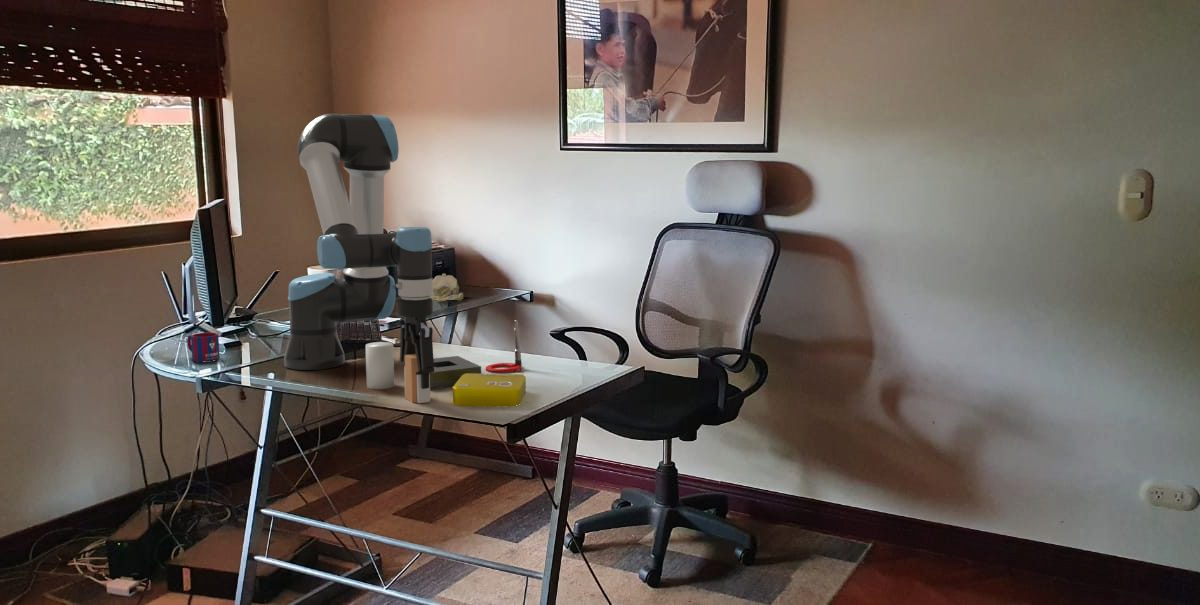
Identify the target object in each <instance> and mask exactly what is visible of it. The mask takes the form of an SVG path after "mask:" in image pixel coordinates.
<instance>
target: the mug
mask: <svg viewBox="0 0 1200 605" xmlns="http://www.w3.org/2000/svg"><path fill="white" fill-rule="evenodd" d="M219 340H220V338H219V333H217V332H209V331H207V332H197V333H193V334H189V335H188V336H187V341H186V342H187V347H188V350H189V351H190V352H191V359H192V360H193V361H199V362H198V363H204V362H203V361H213V360H217V361H219V360H220V359H219V358H221V357H220V356H221V355H220V341H219ZM218 359H219V360H218ZM192 360H191V361H192ZM193 361H192V362H193ZM213 362H214V361H213Z"/></svg>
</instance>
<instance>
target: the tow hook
mask: <svg viewBox="0 0 1200 605" xmlns="http://www.w3.org/2000/svg"><path fill="white" fill-rule="evenodd" d="M513 331H514V349H515V350H514V363H513V362H500V363H499V362H498V363H493V364H489V365H486V366H485V371H486V372H488V373H490V374H491V373H492V374H496V373H497V374H507V373H510V372H517V373H521V371H522V366H523V364H522V357H521V356H522V355H521V354H522V352H521V344H520V328H519V323H518V320H516V319H515V320H514V328H513Z"/></svg>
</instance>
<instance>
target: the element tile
mask: <svg viewBox="0 0 1200 605" xmlns="http://www.w3.org/2000/svg"><path fill="white" fill-rule="evenodd" d="M526 378H527V377H526V376H525V375H524V374H523V373H522V374H521V373H520V374H519V373H491V372H490V373H481V374H476V373H466V374H464V375H462V376H461V377H460V379H459V380H458V381H457V382H456V384H455V385H454V386H452V405H453V406H456V407H493V408H494V407H496V406H501V407H500V408H503V407H502V406H515V407H517V406H516V405H519V404H520V403H521V404H522V402H523V400H522V399H524V397H525V395H526V393H527V392H526V389H527V386H526V384H527V381H526ZM521 401H522V402H521ZM521 404H520V405H521ZM520 405H519V406H520Z"/></svg>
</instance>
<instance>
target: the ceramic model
mask: <svg viewBox="0 0 1200 605" xmlns="http://www.w3.org/2000/svg"><path fill="white" fill-rule="evenodd" d="M432 282H433V294H432V296H430V298H432V300H437V301H436V302H447V301H446V300H458V301H463V300H464V293H463V291H459V289H460V286H459V284H458V280H457V278H456V277H454V275H450V274H448V275H447V274H446V273H442V274H441V275H436V276H435V277H434V278H432ZM462 299H463V300H462Z"/></svg>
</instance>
